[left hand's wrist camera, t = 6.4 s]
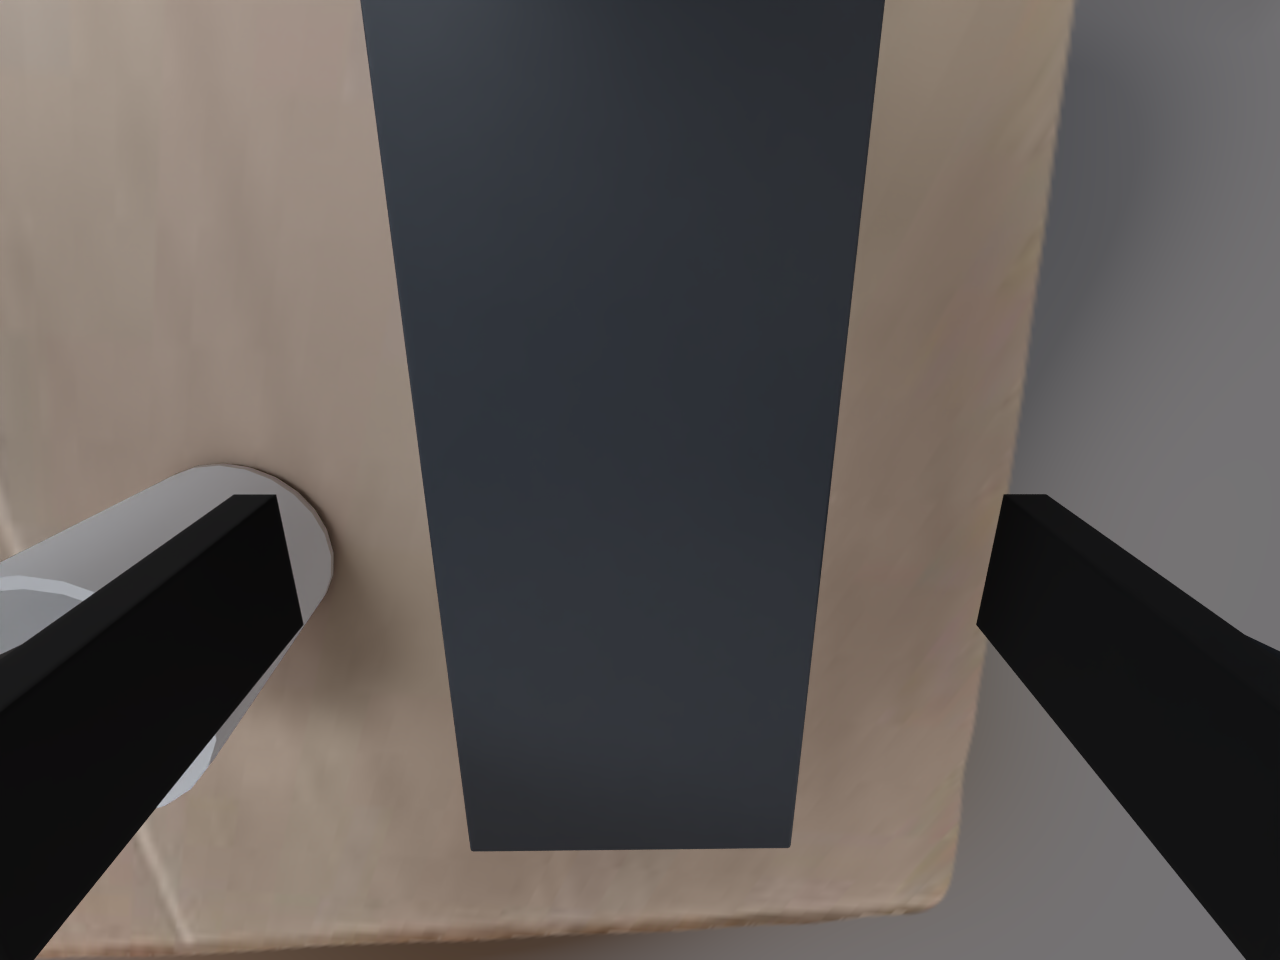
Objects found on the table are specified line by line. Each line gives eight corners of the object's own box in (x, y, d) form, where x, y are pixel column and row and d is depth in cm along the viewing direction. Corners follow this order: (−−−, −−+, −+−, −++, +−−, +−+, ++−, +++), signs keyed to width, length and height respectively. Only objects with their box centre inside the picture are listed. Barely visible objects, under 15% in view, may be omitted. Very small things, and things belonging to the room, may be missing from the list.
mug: (216, 407, 28) (-2, 514, 18) (388, 551, 30) (276, 711, 21) (71, 571, 31) (-186, 738, 21) (240, 691, 33) (80, 889, 23)
